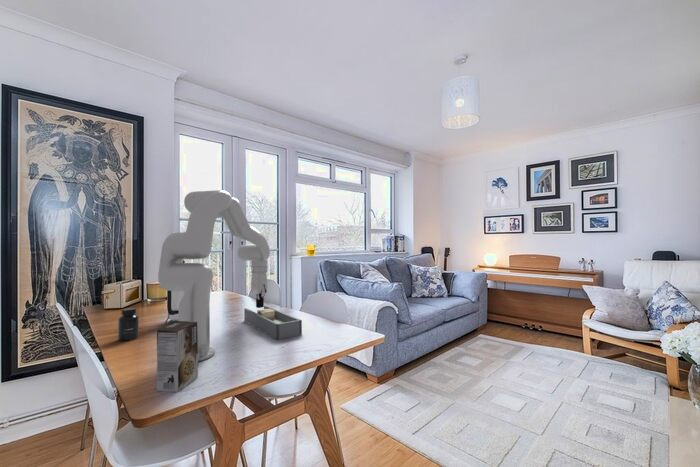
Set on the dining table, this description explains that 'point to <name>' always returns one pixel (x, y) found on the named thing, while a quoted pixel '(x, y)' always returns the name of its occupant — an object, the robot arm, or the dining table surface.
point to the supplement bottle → (128, 325)
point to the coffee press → (173, 304)
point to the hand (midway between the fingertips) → (259, 307)
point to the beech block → (267, 313)
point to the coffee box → (177, 356)
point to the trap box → (275, 324)
